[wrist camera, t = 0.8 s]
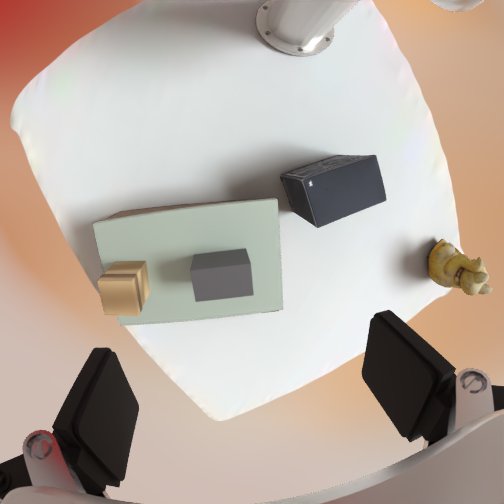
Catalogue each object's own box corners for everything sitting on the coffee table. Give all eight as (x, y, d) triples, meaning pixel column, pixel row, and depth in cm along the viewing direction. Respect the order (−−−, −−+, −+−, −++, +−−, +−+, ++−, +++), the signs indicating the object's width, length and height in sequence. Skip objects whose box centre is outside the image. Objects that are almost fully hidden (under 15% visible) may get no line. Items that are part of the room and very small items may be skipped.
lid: (97, 221, 30) (73, 234, 23) (274, 197, 31) (288, 206, 25) (123, 319, 34) (108, 347, 28) (280, 303, 36) (292, 331, 30)
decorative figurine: (453, 257, 47) (500, 283, 33) (433, 287, 49) (478, 319, 35) (437, 231, 45) (491, 254, 31) (415, 263, 46) (466, 295, 32)
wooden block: (115, 260, 30) (96, 280, 24) (146, 260, 30) (132, 280, 25) (120, 291, 31) (104, 315, 25) (150, 291, 32) (138, 316, 26)
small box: (292, 215, 41) (316, 231, 31) (278, 174, 38) (298, 177, 29) (352, 192, 40) (389, 202, 31) (340, 153, 38) (376, 152, 28)
